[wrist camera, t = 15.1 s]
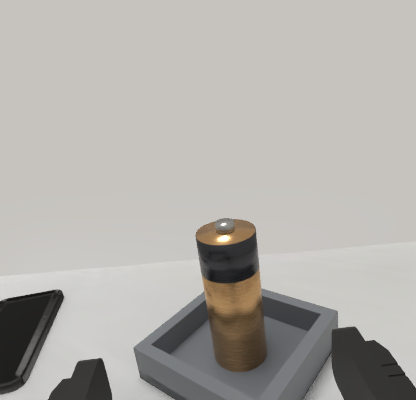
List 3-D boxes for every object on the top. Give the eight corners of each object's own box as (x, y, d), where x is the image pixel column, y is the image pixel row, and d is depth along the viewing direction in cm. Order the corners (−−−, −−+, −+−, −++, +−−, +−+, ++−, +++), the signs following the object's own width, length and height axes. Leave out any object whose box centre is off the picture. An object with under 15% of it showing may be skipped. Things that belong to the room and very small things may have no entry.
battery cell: (203, 358, 30) (181, 228, 26) (234, 327, 33) (218, 208, 29) (248, 380, 27) (231, 239, 24) (277, 344, 30) (266, 215, 27)
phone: (64, 288, 44) (20, 382, 30) (66, 296, 45) (24, 392, 31) (-3, 300, 44) (-79, 402, 30) (0, 308, 44) (-74, 412, 30)
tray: (140, 377, 30) (133, 347, 29) (225, 301, 38) (222, 276, 38) (266, 456, 22) (262, 420, 21) (338, 340, 31) (337, 311, 30)
